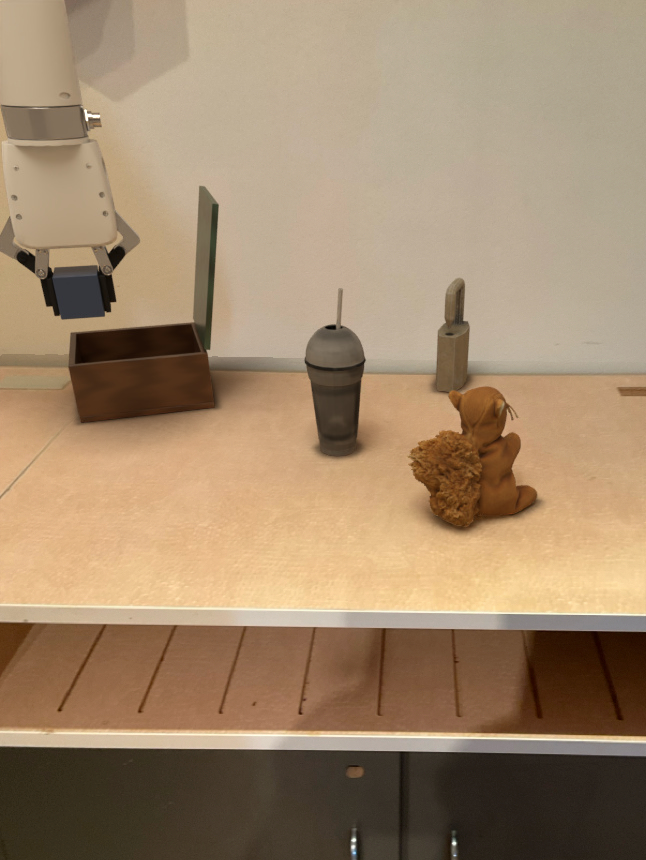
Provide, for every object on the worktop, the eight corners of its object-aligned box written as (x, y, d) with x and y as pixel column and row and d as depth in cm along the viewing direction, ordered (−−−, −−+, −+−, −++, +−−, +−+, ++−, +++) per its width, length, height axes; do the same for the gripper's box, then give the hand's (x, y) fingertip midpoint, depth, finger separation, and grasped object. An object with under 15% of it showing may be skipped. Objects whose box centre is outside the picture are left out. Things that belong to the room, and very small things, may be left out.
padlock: (431, 390, 116) (435, 287, 108) (445, 371, 123) (449, 273, 115) (457, 393, 116) (463, 289, 108) (470, 374, 122) (476, 275, 114)
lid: (212, 203, 97) (218, 204, 97) (199, 185, 108) (205, 186, 109) (204, 349, 106) (210, 350, 106) (192, 318, 117) (198, 319, 118)
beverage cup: (334, 431, 104) (328, 275, 93) (378, 445, 100) (377, 285, 90) (297, 450, 99) (286, 288, 88) (342, 466, 95) (336, 299, 85)
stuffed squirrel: (542, 499, 89) (555, 388, 82) (468, 550, 80) (475, 430, 73) (470, 472, 94) (477, 366, 87) (393, 517, 85) (393, 403, 78)
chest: (80, 422, 105) (68, 366, 101) (81, 384, 117) (70, 332, 113) (214, 407, 110) (207, 353, 106) (202, 372, 122) (196, 321, 118)
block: (61, 319, 85) (52, 277, 83) (62, 308, 89) (54, 267, 87) (105, 316, 87) (97, 274, 84) (104, 305, 90) (97, 264, 88)
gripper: (134, 121, 83) (160, 296, 93) (-43, 123, 79) (4, 307, 88) (137, 128, 77) (164, 315, 87) (-55, 130, 73) (-4, 327, 82)
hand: (83, 309), depth 88 cm, fingers closed on block, 4 cm apart
